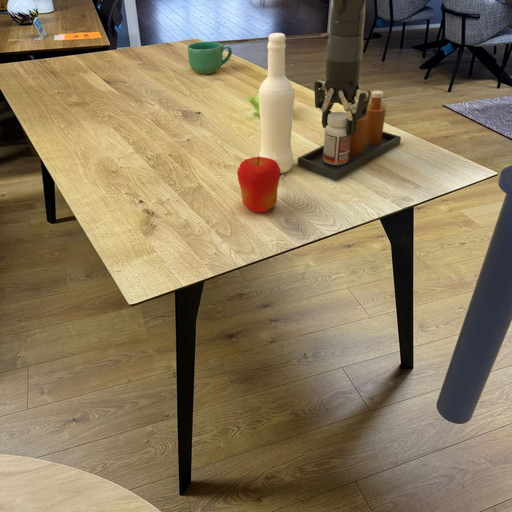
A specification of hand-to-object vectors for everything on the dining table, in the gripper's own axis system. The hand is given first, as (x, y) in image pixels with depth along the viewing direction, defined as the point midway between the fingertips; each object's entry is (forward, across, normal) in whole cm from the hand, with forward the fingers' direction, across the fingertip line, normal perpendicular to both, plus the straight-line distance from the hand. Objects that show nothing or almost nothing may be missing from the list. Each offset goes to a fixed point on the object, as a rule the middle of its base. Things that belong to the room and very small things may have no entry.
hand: (338, 130), depth 112 cm
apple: (+8, -1, +28) cm, 29 cm away
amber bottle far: (+8, 0, -15) cm, 17 cm away
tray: (+8, 0, -6) cm, 10 cm away
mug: (+8, +83, -32) cm, 90 cm away
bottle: (+8, +9, +12) cm, 17 cm away
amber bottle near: (+8, 0, -7) cm, 11 cm away
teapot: (+8, +34, -13) cm, 38 cm away
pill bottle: (+8, 0, 0) cm, 8 cm away
